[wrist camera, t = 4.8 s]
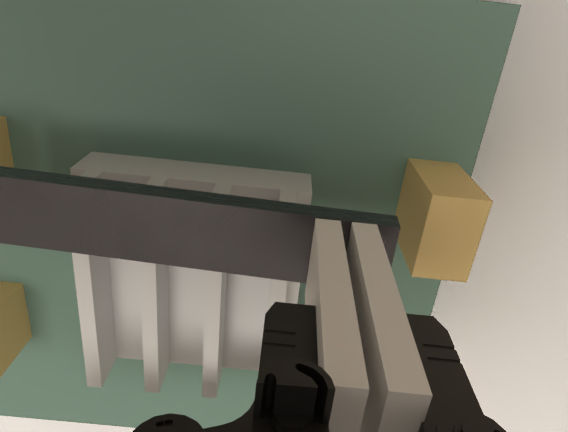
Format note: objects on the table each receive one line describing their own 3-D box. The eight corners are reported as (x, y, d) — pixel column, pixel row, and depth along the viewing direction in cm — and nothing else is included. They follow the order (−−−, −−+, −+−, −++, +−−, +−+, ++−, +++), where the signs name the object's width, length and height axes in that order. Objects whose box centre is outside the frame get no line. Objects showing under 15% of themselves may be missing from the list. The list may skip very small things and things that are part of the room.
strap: (-52, 146, 15) (-76, 156, 14) (399, 202, 14) (403, 216, 14) (-33, 234, 16) (-54, 248, 15) (380, 288, 16) (383, 305, 15)
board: (-91, -62, 17) (-232, -80, 12) (507, 4, 17) (580, 8, 13) (9, 398, 27) (-48, 479, 22) (387, 433, 27) (404, 520, 23)
